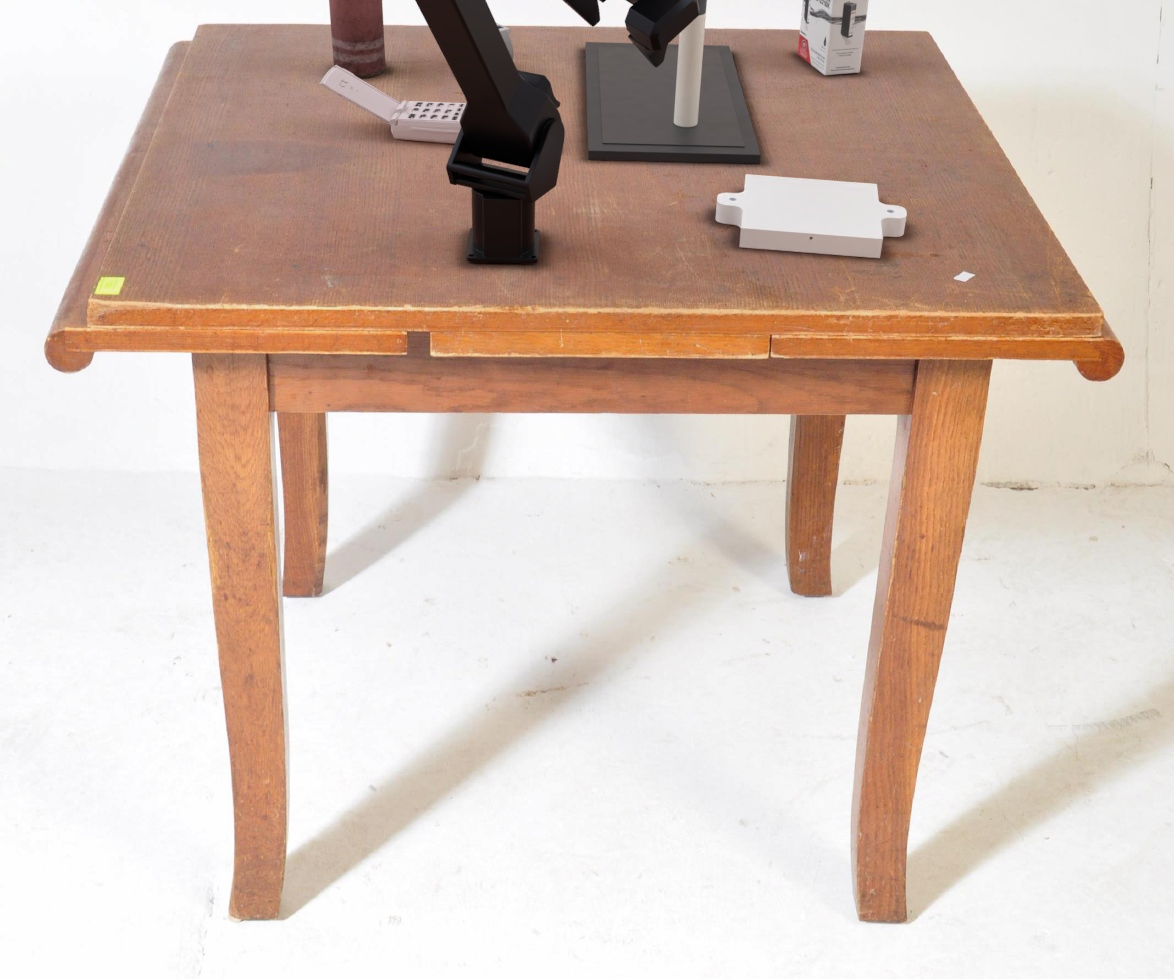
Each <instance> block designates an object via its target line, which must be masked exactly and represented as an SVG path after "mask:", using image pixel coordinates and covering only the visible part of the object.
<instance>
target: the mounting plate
mask: <svg viewBox="0 0 1174 979" xmlns="http://www.w3.org/2000/svg"><path fill="white" fill-rule="evenodd" d="M715 206H716V208H715V221H716V222H717V223H720V224H723V225H734V226H736V227H739V229H740V233H739V246H738V247H739V248H746V249H757V250H769V251H783V252H796V253H808V254H821V255H831V256H832V255H833V256H834V255H835V256H844V257H845V256H846V257H861V258H870V259H871V258H872V259H881V253H882V249H883V248H882V247H883V242H884V237H889V238H890V237H891V238H900V237H902V236H904V234H905V228H906V223H907V216H908V214H907V213H908V212H907V209H906V208H905V207H903V206H901V205H897V204H886V203H883V202H881V201H880V199H879V192H878V183H871V182H858V181H857V182H855V181H844V180H843V181H842V180H829V179H816V178H804V177H792V176H791V177H789V176H776V175H763V174H761V175H759V174H750V173H748V174H747V173H745V177H744V188H743V191H740V192H721V193H718V194H717V197H716V205H715Z"/></svg>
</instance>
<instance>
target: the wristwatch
mask: <svg viewBox="0 0 1174 979" xmlns="http://www.w3.org/2000/svg"><path fill="white" fill-rule="evenodd" d="M496 24H497V26H498V29H499V31H500V33H501V35H502V38H503V40H504V42H505V44H506V46H507V49H508V51H509V53H510V55H511V58H512V60H513V61H514V56H515V55H514V52H515V51H514V46H513V42H512V40H511V39H512V38H511V37H510V35H511V34H512V29H511V28H509V27H507V26H504V25H502V24H500V23H498V22H496Z"/></svg>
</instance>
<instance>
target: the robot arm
mask: <svg viewBox="0 0 1174 979" xmlns="http://www.w3.org/2000/svg"><path fill="white" fill-rule="evenodd" d="M414 1H415V3H416V5H417V6H418V9H419V11H420V12H421V15H422V16H423V19H424V20H425V22H426V24H427V26H428V28H429V31H430V32H431V34H432V36H433V38H434V40H435V41H436V43H437V45H438V47H439V50H440V51H441V53H442V55H443V58H444V59H445V61H446V63H447V65H448V67H449V69H450V71H451V73H452V75H453V77H454V79H455V80H456V82H457V84H458V86H459V88H460V90H461V92H462V94H463V96H464V98H465V100H466V102H465V103H466V106H465V108H464V111H463V113H462V116H461V119H460V125H461V129H460V132H459V134H458V137H457V139H456V142H455V144H453V147H452V150H451V152H450V155H449V157H448V160H447V162H446V166H445V169H446V170H445V171H446V173H447V178H448V182H449V184H450V185H453V186H457V185H458V186H462V187H466V188H470V189H471V192H470V193H471V228H469V232H468V239H467V247H466V253H465V256H466V257H465V260H466V261H467V262H469V263H488V264H489V263H490V264H491V263H494V264H537V263H539V260H540V258H539V256H540V229H538V228H536V202H537V201H538V200H539V199H541V198H542V197H543V196H545V195H546V194H548V193H549V192H550V191H551V190H553V189H554V188H555V187H556V186H557V184H558V183H557V182H558V179H559V178H558V177H559V172H560V167H561V162H562V161H561V160H562V154H563V149H564V143H565V138H566V137H565V134H566V132H565V126H564V123H563V120H562V116H561V113H560V111H559V108H560V106H561V102H560V101H559V100H557V98H556V97H555V94H554V91H553V87H552V83H551V81H550V80H549V78H547V76H546V75H544V74H539V73H535V72H529V71H524V70H519V69H518V68H517V67H516V66H517V65H516V64H515V62H514V59H513V60H512V58H511V55H510V53H509V51H508V49H507V46H506V44H505V42H504V40H503V38H502V35H501V33H500V31H499V29H498V26H497V24H496V23H497V22H496V20H495V17H494V15H493V13H492V10H491V8H490V7H489V4H488V2H487V0H414ZM562 1H563V3H565V4H566V5H567V6H568V7H569V8H571V10H573V11H574V12H575V13H576V14H577V15H578V16H580V18H581V19H583V21H585V22H586V23H587V24H588V25H589V26H591V27H592V28H593V27H596V25H597V24H599V23H600V21H601V13H600V12H601V11H600V6H599V2H601V3H602V4H603V3H605V2H606V1H607V0H562ZM625 1H627V2H628V3H629V4H631V6H630V7H629V8H628V11H627V14H626V16H625V19H624V24H625V27H626V30H627V32H628V33H629V34H628V35H627V38H628V40H630V41H631V43H633V44H634V45H635V46H636V47H637V48H638V49H639V50H640V52H641V53H642V54H643V55H644V56H645V57H646V59H647V60H648V61H649V62H650V63H651V64H652V65H653V66H654V67H656V68H657V67H658V66H659V65H660V64H661V63H663V61H664V58H665V54H666V50H667V46H668V44H671V42H672V41H673V40H674V39H675V38H677V37H678V35H679V34H680V32H682V31H683V30H684V29H685V28H686V27H687V26H688V25H689V24H690V23H691V22H692V21H693V20H695V19H696V18H697V17H698V16H699V15H700V14H699V4H698V0H625ZM483 160H488V161H493V162H498V163H503V164H505V165H511V166H516V167H519V168H525V169H528V171H527V172H526V171H523V170H518V169H515V168H509V167H504V166H500V165H496V164H491V163H487V162H483Z"/></svg>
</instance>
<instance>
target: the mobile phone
mask: <svg viewBox="0 0 1174 979" xmlns="http://www.w3.org/2000/svg"><path fill="white" fill-rule="evenodd" d="M318 85H320V86H321V87H324V88H325V89H327V90H328V91H331V92H332V93H334V94H335V95H337V96H339V97H340V98H342V99H343V100H346V101H347V102H349V103H351V104H352V105H354V106H356V107H358V108H359V109H361V110H363V111H364V112H366V113H367V114H370V115H372V116H373V117H375V118H376V119H379V120H380V121H382V122H383V123H386V124H387V125H389V126H390V132H391V134H392V137H393V139H396V140H404V141H415V142H416V141H417V142H427V143H429V142H430V143H439V144H440V143H441V144H453V145H454V144H455V142H456V139H457V137H458V134H459V132H460V129H461V125H460V119H461V116H462V113H463V111H464V108H465V106H466V103H467V102H448V101H447V102H445V101H443V102H442V101H419V100H418V101H417V100H407V99H404V100H402V101H401V102H400V101H398V100H397V99H395V98H393V97H391V96H390V95H388V94H386V93H385V92H383V91H382V90H380V89H378V88H377V87H375V86H373V85H371V84H370V83H368V82H366V81H365V80H363V79H362V78H358V77H356V76H355V75H354V74H353V73H351V72H349V71H347V70H346V69H344V68H341V67H339V66H337V65H335V66H334V65H333V66H332V67H331V68H329V69H328V71H327V72H326V73H325V74H324V75H323V77H322V78H321V80H320V81H319V83H318Z"/></svg>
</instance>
